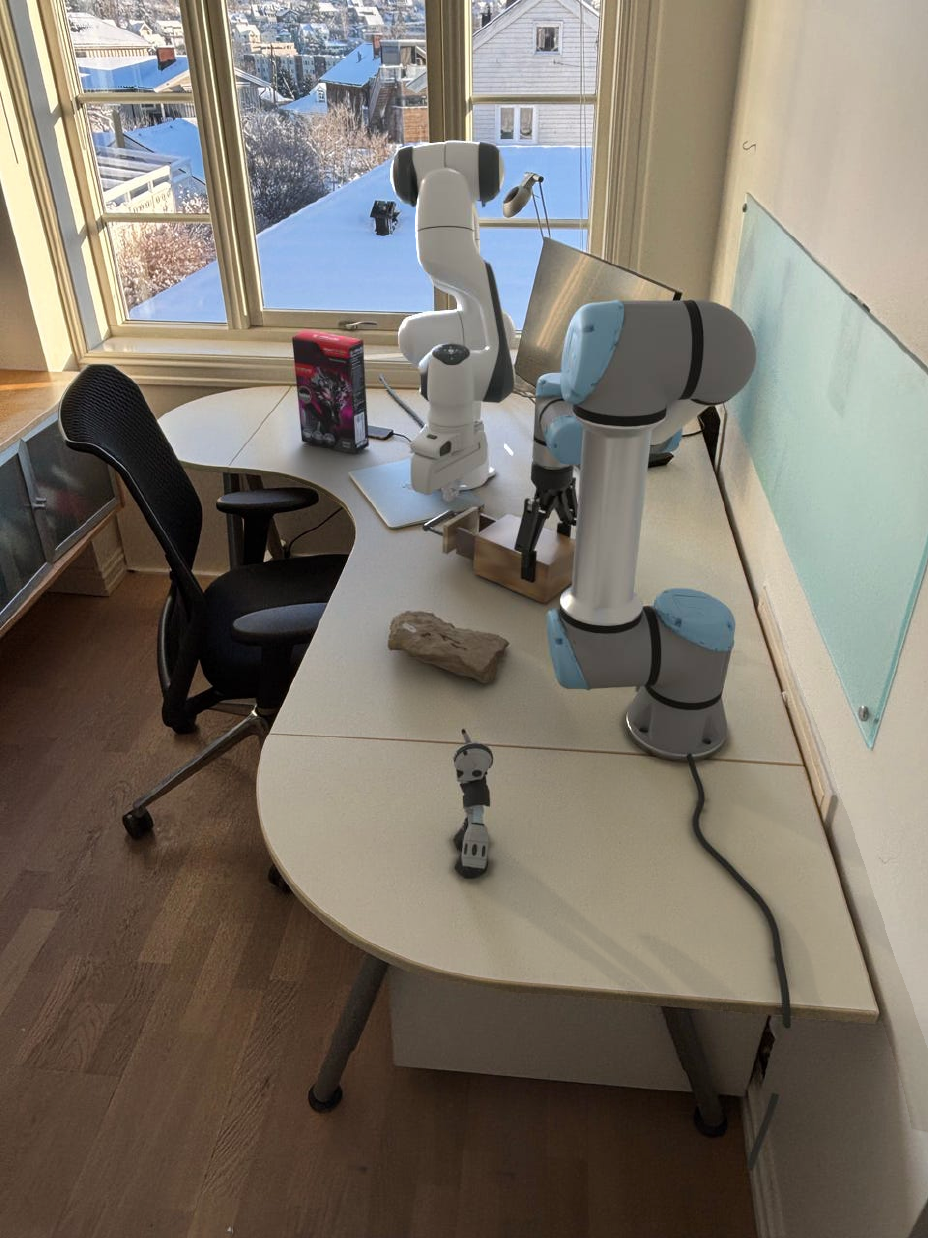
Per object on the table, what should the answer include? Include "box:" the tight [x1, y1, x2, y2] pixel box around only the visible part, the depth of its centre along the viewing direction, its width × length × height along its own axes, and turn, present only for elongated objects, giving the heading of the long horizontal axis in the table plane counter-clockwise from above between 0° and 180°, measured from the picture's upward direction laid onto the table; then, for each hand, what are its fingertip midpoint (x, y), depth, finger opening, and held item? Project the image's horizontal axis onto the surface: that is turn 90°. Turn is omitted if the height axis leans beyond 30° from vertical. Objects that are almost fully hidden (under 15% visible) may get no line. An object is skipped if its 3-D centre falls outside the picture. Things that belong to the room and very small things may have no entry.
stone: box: [387, 610, 510, 685], centre depth 156 cm, size 21×15×6 cm
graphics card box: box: [291, 329, 370, 455], centre depth 226 cm, size 17×7×27 cm, turn 62°
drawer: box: [421, 505, 499, 562], centre depth 184 cm, size 21×10×6 cm, turn 53°
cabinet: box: [472, 513, 575, 605], centre depth 178 cm, size 17×11×9 cm
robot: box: [452, 728, 494, 879], centre depth 116 cm, size 20×5×20 cm, turn 3°
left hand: (450, 498), depth 183 cm, fingers closed
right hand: (545, 567), depth 176 cm, fingers closed on cabinet, 11 cm apart
